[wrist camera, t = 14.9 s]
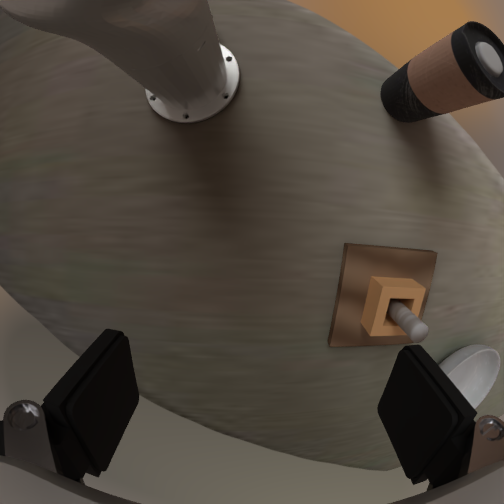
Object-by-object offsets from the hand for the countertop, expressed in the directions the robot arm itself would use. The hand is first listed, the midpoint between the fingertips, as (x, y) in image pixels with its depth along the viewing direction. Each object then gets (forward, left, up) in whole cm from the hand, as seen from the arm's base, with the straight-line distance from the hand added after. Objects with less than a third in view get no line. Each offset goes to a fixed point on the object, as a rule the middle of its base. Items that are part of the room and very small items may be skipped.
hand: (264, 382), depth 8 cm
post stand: (+8, +19, -28) cm, 35 cm away
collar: (+8, +19, -27) cm, 34 cm away
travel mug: (-21, +19, -28) cm, 40 cm away
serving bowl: (+26, +41, -29) cm, 56 cm away
